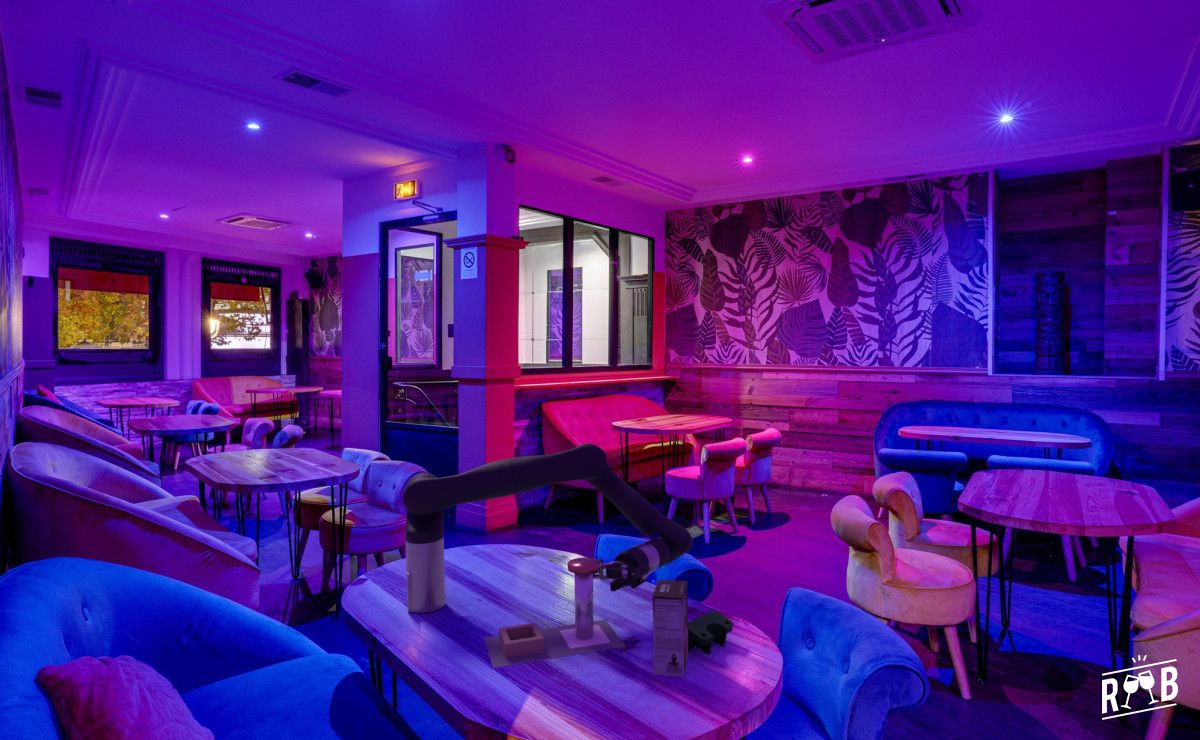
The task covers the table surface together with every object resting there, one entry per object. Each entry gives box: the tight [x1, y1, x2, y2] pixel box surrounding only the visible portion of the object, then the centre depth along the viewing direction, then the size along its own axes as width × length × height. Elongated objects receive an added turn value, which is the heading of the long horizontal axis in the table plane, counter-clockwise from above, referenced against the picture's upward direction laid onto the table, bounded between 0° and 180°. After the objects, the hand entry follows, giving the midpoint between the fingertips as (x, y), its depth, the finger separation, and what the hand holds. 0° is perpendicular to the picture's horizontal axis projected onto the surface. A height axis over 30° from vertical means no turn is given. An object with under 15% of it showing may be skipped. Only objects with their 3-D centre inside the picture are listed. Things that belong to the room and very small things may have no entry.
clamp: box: [688, 609, 734, 656], centre depth 141 cm, size 12×6×9 cm, turn 127°
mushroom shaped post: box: [567, 557, 600, 640], centre depth 142 cm, size 7×7×16 cm
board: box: [483, 619, 627, 669], centre depth 141 cm, size 28×14×4 cm, turn 107°
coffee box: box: [652, 579, 689, 678], centre depth 132 cm, size 9×6×16 cm
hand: (596, 582), depth 146 cm, fingers open, 8 cm apart
